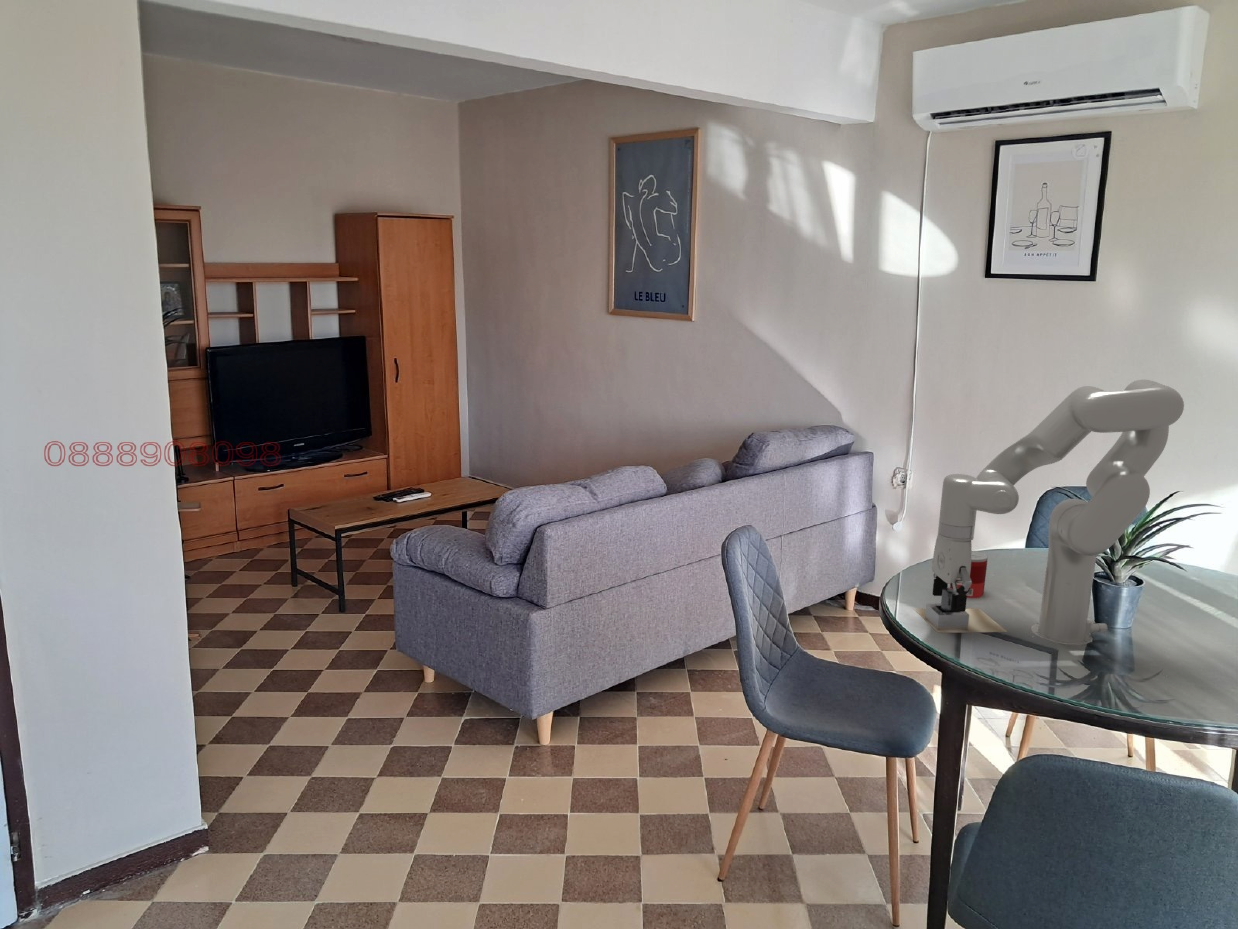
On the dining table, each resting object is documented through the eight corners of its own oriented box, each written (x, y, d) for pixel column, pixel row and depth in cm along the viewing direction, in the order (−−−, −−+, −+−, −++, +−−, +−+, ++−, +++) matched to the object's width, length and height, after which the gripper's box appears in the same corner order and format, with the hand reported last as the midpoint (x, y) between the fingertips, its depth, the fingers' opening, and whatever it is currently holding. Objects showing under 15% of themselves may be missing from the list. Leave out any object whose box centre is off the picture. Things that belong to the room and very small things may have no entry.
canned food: (989, 600, 235) (994, 557, 232) (963, 604, 232) (968, 561, 230) (968, 590, 242) (972, 548, 239) (942, 593, 239) (947, 551, 237)
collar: (954, 617, 220) (955, 603, 219) (967, 629, 213) (969, 614, 212) (924, 618, 219) (926, 603, 218) (937, 629, 212) (939, 615, 211)
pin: (948, 621, 217) (952, 588, 216) (954, 626, 215) (957, 592, 213) (936, 621, 217) (940, 588, 215) (942, 626, 214) (945, 592, 213)
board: (978, 613, 226) (978, 608, 226) (1006, 636, 212) (1007, 631, 212) (913, 614, 225) (913, 609, 224) (937, 637, 211) (938, 632, 211)
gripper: (924, 519, 219) (917, 590, 223) (956, 542, 202) (948, 618, 206) (955, 519, 220) (948, 589, 224) (990, 542, 203) (981, 617, 207)
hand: (948, 603), depth 215 cm, fingers open, 9 cm apart
